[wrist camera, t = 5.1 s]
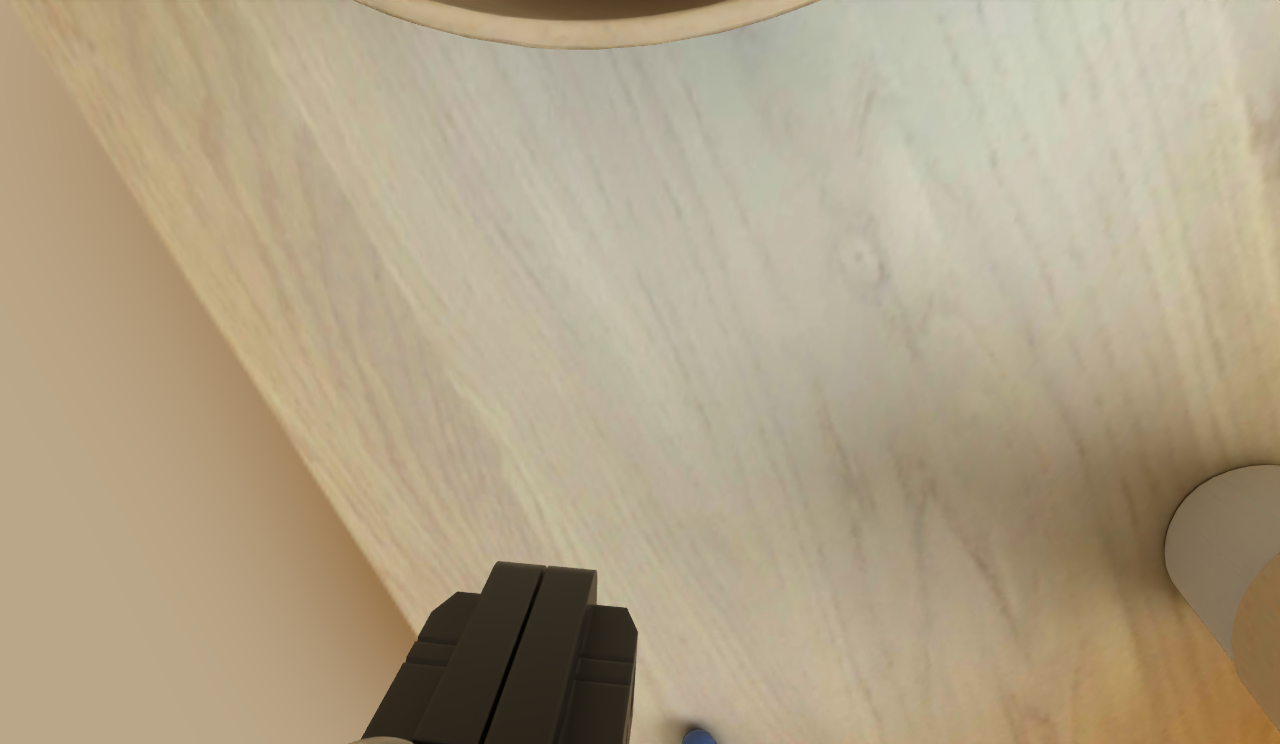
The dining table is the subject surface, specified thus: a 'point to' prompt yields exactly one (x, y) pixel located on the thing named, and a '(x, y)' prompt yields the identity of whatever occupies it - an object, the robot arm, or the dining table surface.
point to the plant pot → (584, 19)
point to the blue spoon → (698, 737)
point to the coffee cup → (1235, 571)
